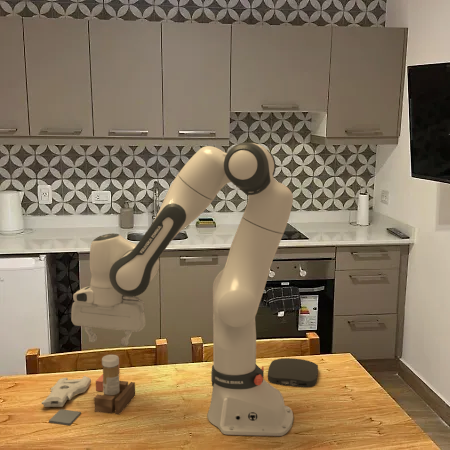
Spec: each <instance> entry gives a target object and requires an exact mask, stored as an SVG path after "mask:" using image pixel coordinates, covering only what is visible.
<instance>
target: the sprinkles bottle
mask: <svg viewBox="0 0 450 450" xmlns="http://www.w3.org/2000/svg"><path fill="white" fill-rule="evenodd" d="M118 365H119V366H118ZM101 366H102V374H103V395H107V396H115V399H116V398H117V397H118V396H119V391H120V388H119V381H120V374H119V370H120V357H119V356H118V355H116V354H106V355H104V356H102V358H101Z"/></svg>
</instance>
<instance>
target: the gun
mask: <svg viewBox="0 0 450 450" xmlns="http://www.w3.org/2000/svg"><path fill="white" fill-rule="evenodd" d="M91 383H92V378H90V377H88V376H86V375H83V377H82V378H74V379H69V378H68V377H62V378H59V379H58V380H57V381H56V383H54V386H52V387H51V388H49V390H50V392H49V394H48V395H47V397H45V399H44V400H42V402H41V405H43V408H51V407H53V408H55V407H56V408H57V407H58V408H63V406H64V405H65V403H66V402H67V400H69V401H70V400H71V399H72V398H73V397H75V396H76V395H79V394H83V393H85V392H86V391H87V390H88V388H89V387H90V385H91Z"/></svg>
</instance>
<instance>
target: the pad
mask: <svg viewBox="0 0 450 450" xmlns="http://www.w3.org/2000/svg"><path fill="white" fill-rule="evenodd" d="M81 415H82V411H78V410H71V409H64V408H63V409H62V408H61V409H58V411H57V412H56V413H55V414H54V415H53V416H51V418H50V419H49V420H48V423H50V424H55V425H63V426H71V425H72V424H74V422H75V421H76V420H77V418H79V417H80V416H81Z"/></svg>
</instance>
